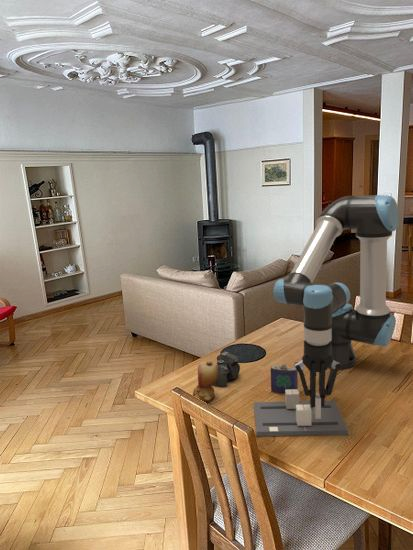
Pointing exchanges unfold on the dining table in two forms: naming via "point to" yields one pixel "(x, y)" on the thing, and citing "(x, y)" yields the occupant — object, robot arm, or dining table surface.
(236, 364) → the camera
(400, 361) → the dining table surface
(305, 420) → the fader white
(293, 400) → the off-white slider block
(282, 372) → the flask
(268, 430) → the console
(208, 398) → the figurine
